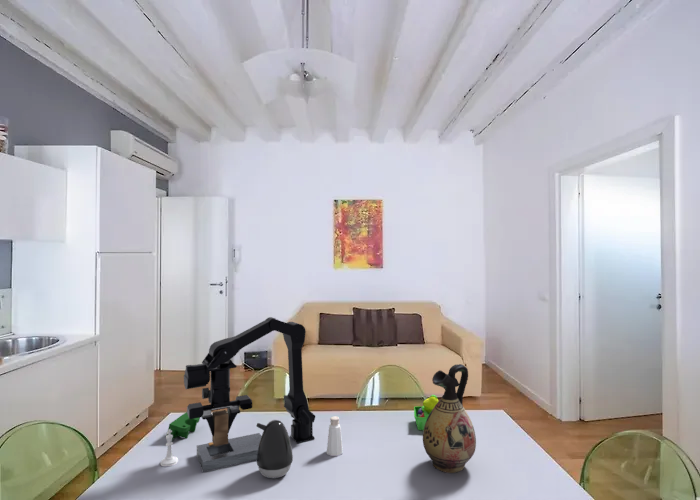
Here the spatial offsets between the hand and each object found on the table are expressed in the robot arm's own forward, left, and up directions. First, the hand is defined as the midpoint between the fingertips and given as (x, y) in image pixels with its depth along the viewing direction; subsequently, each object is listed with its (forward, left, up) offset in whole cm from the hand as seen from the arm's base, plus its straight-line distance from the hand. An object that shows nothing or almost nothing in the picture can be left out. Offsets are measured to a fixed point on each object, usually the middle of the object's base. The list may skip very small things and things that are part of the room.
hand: (220, 434), depth 130 cm
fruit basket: (-72, +10, -8) cm, 73 cm away
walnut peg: (0, 0, -2) cm, 3 cm away
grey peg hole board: (-4, 0, -8) cm, 8 cm away
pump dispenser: (-12, +17, -8) cm, 22 cm away
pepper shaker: (-33, +13, -8) cm, 36 cm away
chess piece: (+14, -5, -8) cm, 17 cm away
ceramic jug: (-60, +37, -8) cm, 71 cm away
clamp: (+8, -24, -8) cm, 27 cm away
